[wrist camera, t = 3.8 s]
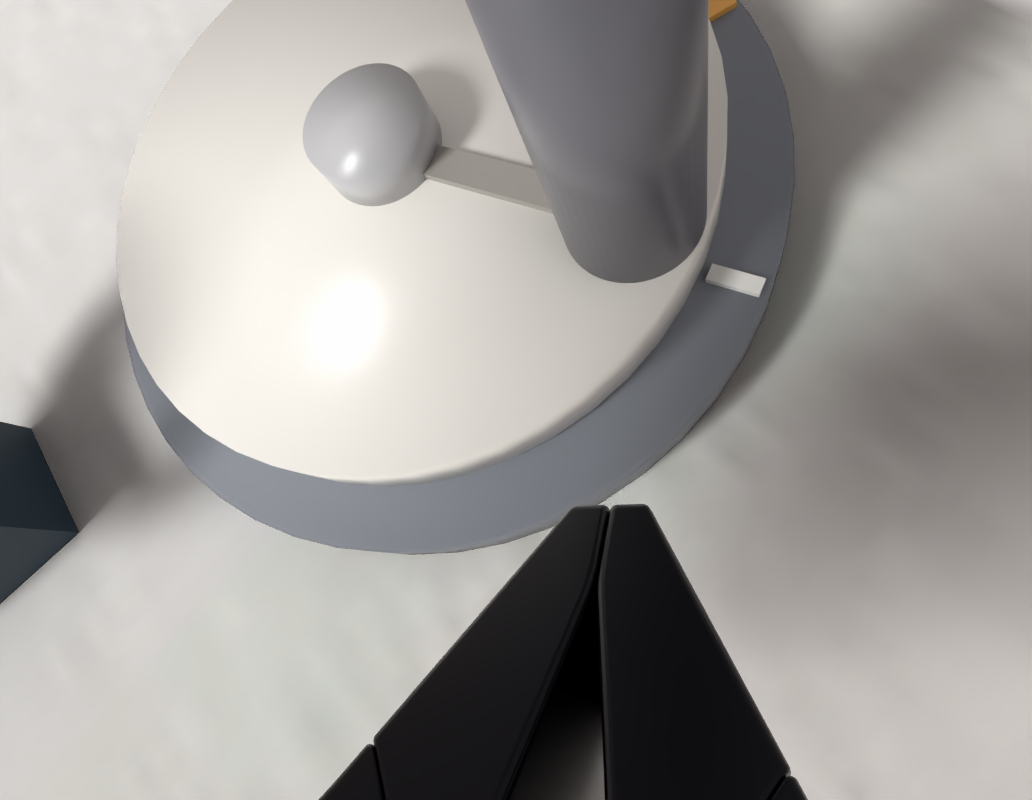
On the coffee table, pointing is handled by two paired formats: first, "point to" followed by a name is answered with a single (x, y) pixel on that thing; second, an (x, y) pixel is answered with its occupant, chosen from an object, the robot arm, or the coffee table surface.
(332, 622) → the coffee table surface
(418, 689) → the robot arm
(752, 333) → the dial base
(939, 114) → the coffee table surface
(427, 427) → the dial
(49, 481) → the watch
